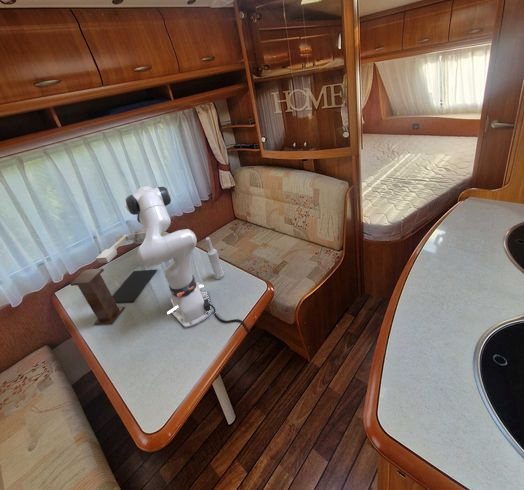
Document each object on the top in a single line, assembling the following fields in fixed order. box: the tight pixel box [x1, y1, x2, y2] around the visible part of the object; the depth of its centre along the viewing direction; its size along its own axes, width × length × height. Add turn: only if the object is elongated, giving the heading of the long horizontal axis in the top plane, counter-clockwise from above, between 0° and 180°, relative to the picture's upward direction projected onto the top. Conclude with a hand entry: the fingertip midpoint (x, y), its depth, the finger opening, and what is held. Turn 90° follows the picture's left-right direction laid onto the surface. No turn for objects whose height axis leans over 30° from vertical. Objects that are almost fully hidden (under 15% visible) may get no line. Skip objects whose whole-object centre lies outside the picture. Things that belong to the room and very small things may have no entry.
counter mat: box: [112, 269, 157, 304], centre depth 156 cm, size 26×16×1 cm, turn 172°
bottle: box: [205, 236, 225, 281], centre depth 144 cm, size 5×5×25 cm
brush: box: [95, 234, 128, 264], centre depth 146 cm, size 22×6×3 cm, turn 172°
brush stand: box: [69, 267, 125, 325], centre depth 132 cm, size 10×10×26 cm
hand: (124, 237), depth 153 cm, fingers closed on brush, 2 cm apart
